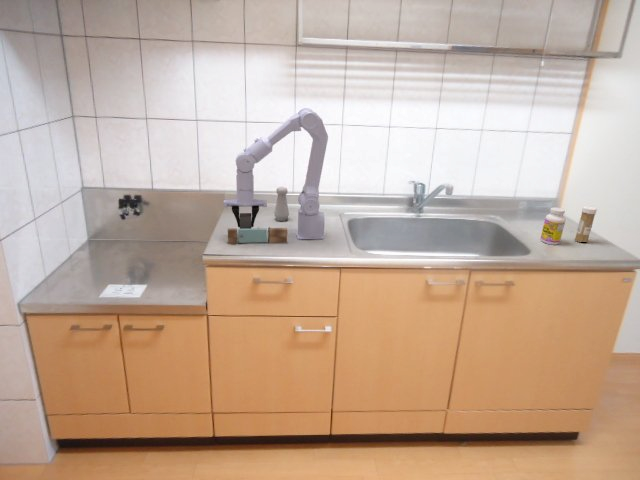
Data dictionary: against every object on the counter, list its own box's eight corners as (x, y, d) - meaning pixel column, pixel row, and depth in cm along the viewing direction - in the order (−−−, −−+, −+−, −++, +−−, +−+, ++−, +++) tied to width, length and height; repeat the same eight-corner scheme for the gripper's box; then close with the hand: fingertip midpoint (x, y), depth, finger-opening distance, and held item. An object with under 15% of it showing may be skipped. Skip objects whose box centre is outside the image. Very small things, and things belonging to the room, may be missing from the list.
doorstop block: (251, 229, 161) (251, 213, 159) (251, 232, 157) (251, 216, 155) (240, 229, 161) (239, 213, 158) (239, 233, 157) (239, 216, 155)
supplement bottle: (535, 239, 170) (543, 207, 166) (549, 238, 173) (557, 205, 168) (549, 246, 165) (558, 212, 160) (563, 244, 167) (572, 211, 162)
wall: (286, 241, 158) (286, 226, 156) (287, 243, 156) (287, 228, 154) (228, 242, 154) (227, 227, 152) (228, 244, 153) (227, 229, 151)
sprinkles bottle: (587, 244, 168) (597, 210, 163) (573, 241, 170) (583, 207, 165) (587, 240, 172) (597, 207, 167) (574, 238, 174) (583, 204, 169)
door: (266, 241, 156) (266, 228, 154) (266, 243, 154) (266, 230, 153) (238, 241, 155) (238, 228, 153) (238, 243, 153) (238, 230, 151)
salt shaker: (290, 217, 181) (290, 186, 176) (287, 222, 176) (288, 190, 171) (275, 216, 182) (276, 185, 177) (272, 221, 176) (273, 189, 172)
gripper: (266, 185, 158) (266, 222, 163) (223, 185, 156) (225, 222, 161) (267, 191, 152) (266, 229, 156) (222, 190, 149) (224, 229, 154)
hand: (245, 226), depth 158 cm, fingers closed on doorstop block, 4 cm apart
